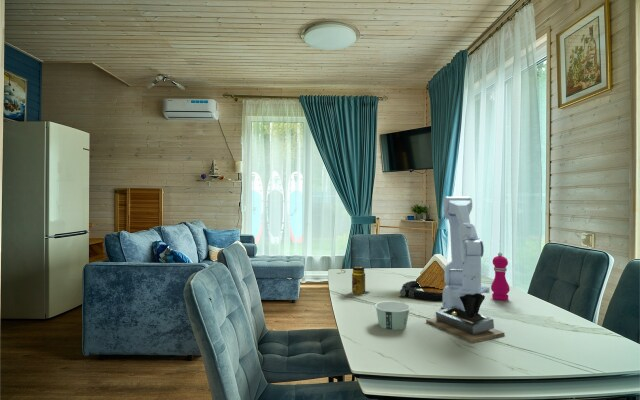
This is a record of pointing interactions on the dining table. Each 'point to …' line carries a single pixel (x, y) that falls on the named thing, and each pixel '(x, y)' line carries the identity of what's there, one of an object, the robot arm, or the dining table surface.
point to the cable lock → (419, 292)
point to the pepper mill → (500, 278)
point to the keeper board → (482, 336)
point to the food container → (392, 314)
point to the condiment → (358, 281)
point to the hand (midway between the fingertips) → (471, 316)
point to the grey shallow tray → (477, 327)
